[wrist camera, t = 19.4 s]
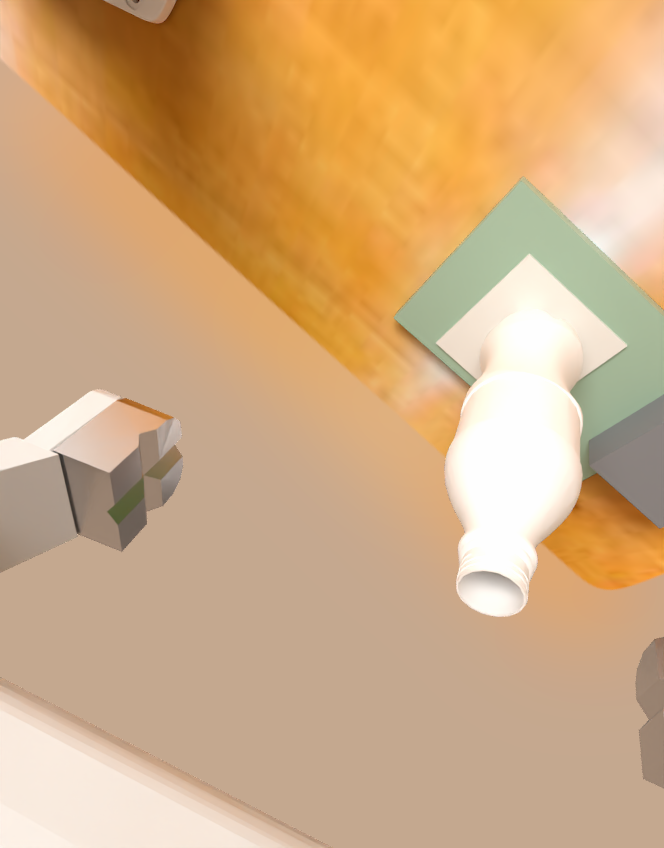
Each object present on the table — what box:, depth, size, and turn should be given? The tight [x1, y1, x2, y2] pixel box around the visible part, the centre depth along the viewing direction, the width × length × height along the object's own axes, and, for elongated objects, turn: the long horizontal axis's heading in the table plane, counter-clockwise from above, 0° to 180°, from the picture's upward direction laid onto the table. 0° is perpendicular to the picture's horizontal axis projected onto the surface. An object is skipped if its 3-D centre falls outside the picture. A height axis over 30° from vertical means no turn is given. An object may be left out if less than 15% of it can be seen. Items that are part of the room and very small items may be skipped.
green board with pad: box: [394, 176, 664, 528], centre depth 42 cm, size 27×14×5 cm, turn 53°
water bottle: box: [444, 309, 583, 617], centre depth 33 cm, size 7×7×25 cm
